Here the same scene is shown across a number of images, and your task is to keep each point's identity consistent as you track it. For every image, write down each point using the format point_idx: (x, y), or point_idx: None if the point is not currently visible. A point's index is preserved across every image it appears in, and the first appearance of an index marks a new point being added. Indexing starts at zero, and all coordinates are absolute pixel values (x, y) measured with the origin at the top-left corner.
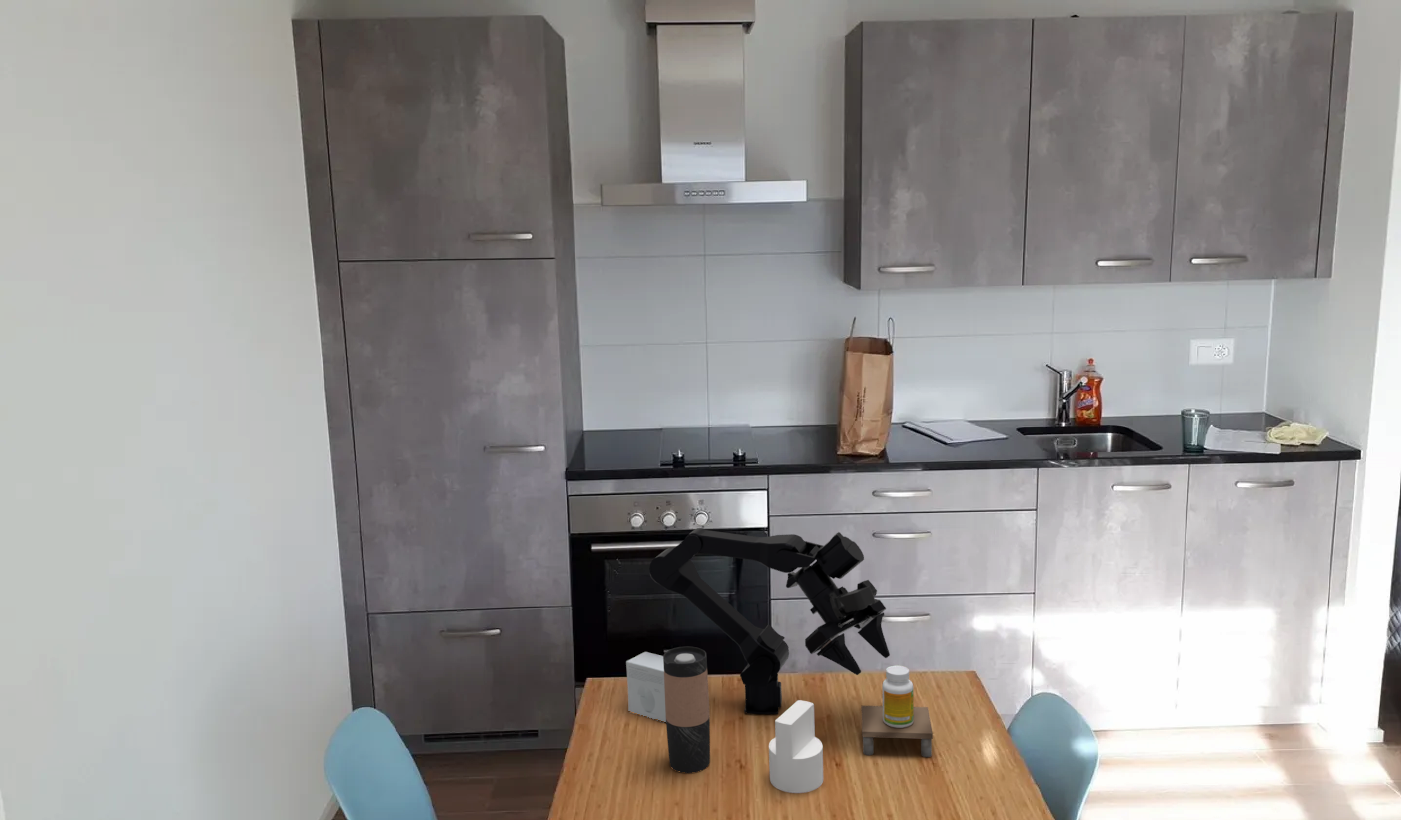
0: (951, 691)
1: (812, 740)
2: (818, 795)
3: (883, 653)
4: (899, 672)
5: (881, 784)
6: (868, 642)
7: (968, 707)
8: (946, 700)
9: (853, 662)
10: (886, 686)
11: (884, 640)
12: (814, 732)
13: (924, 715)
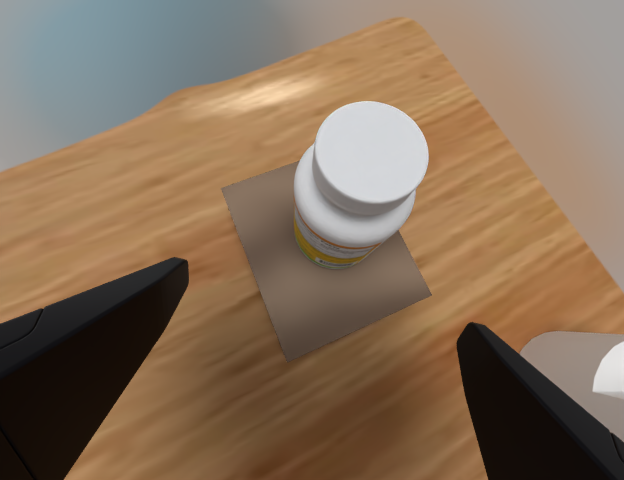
0: (8, 220)
1: (612, 387)
2: (590, 318)
3: (174, 296)
4: (394, 133)
5: (482, 225)
6: (83, 447)
7: (91, 165)
8: (66, 217)
9: (543, 375)
10: (408, 211)
11: (89, 296)
12: (608, 395)
13: (271, 183)
